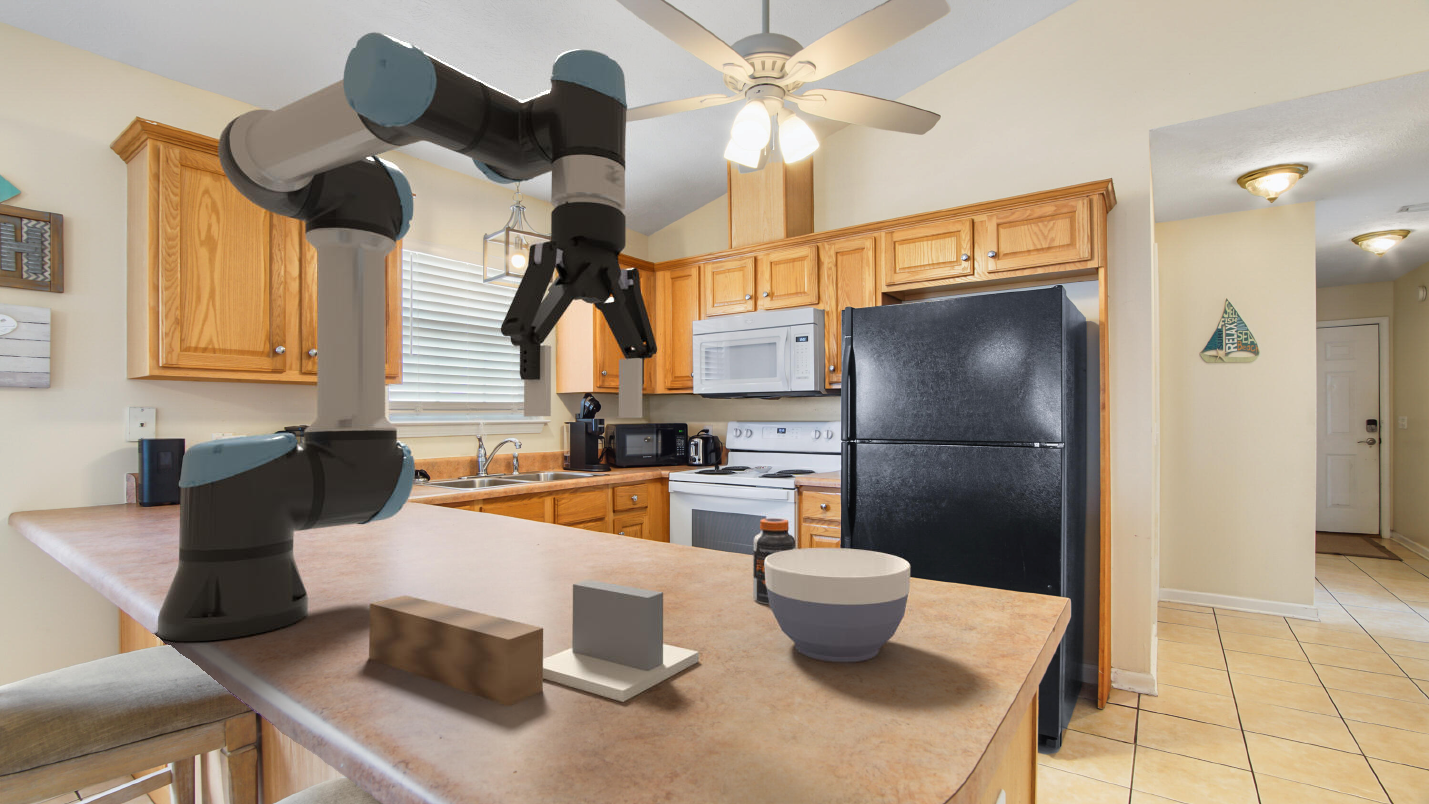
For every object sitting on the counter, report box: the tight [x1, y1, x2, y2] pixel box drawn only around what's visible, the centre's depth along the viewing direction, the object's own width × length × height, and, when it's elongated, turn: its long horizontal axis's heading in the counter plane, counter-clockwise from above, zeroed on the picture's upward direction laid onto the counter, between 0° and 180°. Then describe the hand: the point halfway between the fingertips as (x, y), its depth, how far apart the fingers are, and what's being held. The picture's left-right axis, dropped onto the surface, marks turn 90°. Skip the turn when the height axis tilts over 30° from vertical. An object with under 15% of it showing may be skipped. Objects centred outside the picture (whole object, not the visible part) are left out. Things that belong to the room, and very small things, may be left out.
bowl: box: [764, 547, 911, 663], centre depth 73 cm, size 16×16×10 cm
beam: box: [368, 594, 544, 707], centre depth 66 cm, size 22×4×6 cm, turn 57°
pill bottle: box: [752, 517, 796, 605], centre depth 93 cm, size 6×6×11 cm
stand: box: [543, 579, 700, 703], centre depth 67 cm, size 12×12×8 cm
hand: (587, 417), depth 67 cm, fingers open, 13 cm apart
